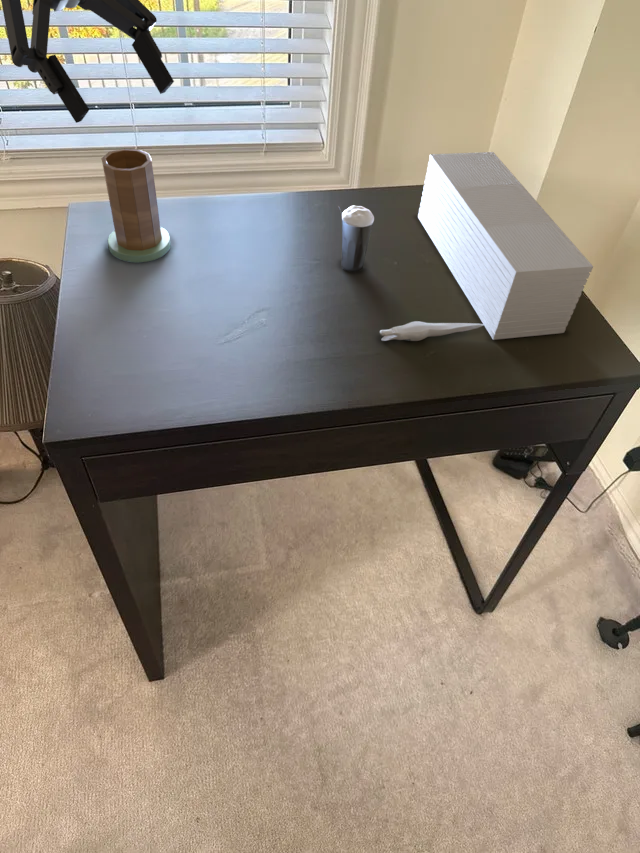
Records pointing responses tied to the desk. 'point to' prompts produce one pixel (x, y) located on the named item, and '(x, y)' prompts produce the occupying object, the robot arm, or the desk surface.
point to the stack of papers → (501, 246)
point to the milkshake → (355, 236)
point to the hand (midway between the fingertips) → (127, 101)
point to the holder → (138, 254)
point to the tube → (132, 198)
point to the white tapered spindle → (425, 330)
